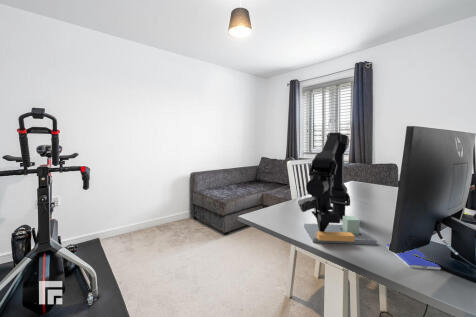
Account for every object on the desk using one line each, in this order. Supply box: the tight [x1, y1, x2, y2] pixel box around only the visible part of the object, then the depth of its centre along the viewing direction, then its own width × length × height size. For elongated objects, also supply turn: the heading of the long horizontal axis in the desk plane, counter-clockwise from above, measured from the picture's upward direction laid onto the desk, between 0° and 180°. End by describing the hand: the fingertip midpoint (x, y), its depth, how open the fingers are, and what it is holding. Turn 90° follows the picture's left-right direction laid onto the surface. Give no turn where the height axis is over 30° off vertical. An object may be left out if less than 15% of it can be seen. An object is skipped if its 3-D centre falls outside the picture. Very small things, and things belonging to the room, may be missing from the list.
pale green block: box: [341, 215, 361, 235], centre depth 83 cm, size 4×4×7 cm
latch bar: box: [317, 231, 355, 242], centre depth 77 cm, size 3×12×2 cm, turn 86°
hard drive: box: [385, 243, 442, 270], centre depth 68 cm, size 2×8×12 cm
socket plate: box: [303, 223, 378, 246], centre depth 84 cm, size 14×22×2 cm, turn 86°
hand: (321, 233), depth 79 cm, fingers closed
